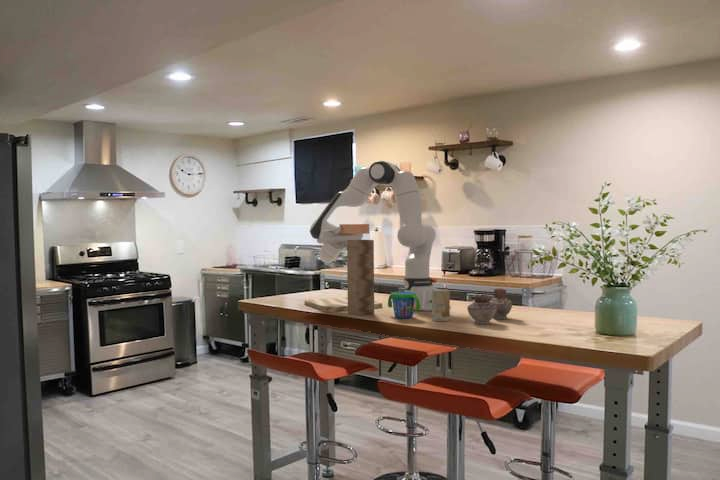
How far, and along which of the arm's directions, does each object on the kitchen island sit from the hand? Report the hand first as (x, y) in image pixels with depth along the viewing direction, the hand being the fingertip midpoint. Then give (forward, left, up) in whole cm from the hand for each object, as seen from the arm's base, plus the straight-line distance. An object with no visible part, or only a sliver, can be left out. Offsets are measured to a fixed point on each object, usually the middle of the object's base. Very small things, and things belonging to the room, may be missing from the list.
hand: (346, 227), depth 250 cm
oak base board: (-4, -15, -37) cm, 40 cm away
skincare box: (-22, +41, -38) cm, 60 cm away
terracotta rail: (0, +7, -2) cm, 8 cm away
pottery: (-39, +51, -38) cm, 75 cm away
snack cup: (-13, +27, -38) cm, 48 cm away
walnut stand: (-2, +9, -37) cm, 39 cm away
